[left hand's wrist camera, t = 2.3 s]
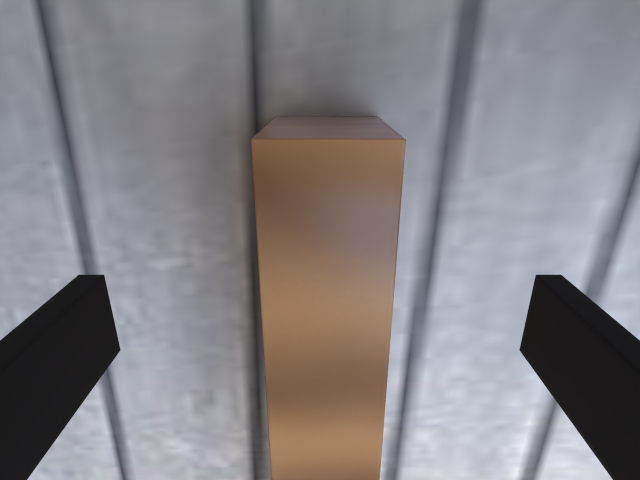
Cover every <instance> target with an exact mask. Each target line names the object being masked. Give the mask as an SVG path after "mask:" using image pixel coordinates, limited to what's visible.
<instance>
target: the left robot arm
mask: <svg viewBox="0 0 640 480" xmlns="http://www.w3.org/2000/svg"><path fill="white" fill-rule="evenodd" d="M119 351H120V346H119V341H118V337H117V332H116V328H115V323H114V318H113V314H112V309H111V305H110V300H109V295H108V291H107V286H106V281H105V277H104V275H78V276H77V277H76V278H75V279H73V280H72V281H71V282H70V283H69V284H67V285H66V286H65V287H64V288H63V289H61V290H60V291H59V292H58V293H57V294H55V295H54V296H53V297H52V298H51V299H49V300H48V301H47V302H46V303H45V304H43V305H42V306H41V307H40V308H39V309H37V310H36V311H35V312H34V313H33V314H32V315H30V316H29V317H28V318H27V319H26V320H24V321H23V322H22V323H21V324H20V325H18V326H17V327H16V328H15V329H14V330H12V331H11V332H10V333H9V334H8V335H6V336H5V337H4V338H3V339H2V340H0V480H27V479H28V478H29V476H30V475H31V473H32V472H33V471H34V469H35V468H36V466H37V465H38V464H39V462H40V461H41V459H42V458H43V457H44V455H45V454H46V453H47V451H48V450H49V448H50V447H51V446H52V444H53V443H54V441H55V440H56V439H57V437H58V436H59V434H60V433H61V432H62V430H63V429H64V428H65V426H66V425H67V423H68V422H69V421H70V419H71V418H72V416H73V415H74V414H75V412H76V411H77V410H78V408H79V407H80V405H81V404H82V403H83V401H84V400H85V398H86V397H87V396H88V394H89V393H90V391H91V390H92V389H93V387H94V386H95V385H96V383H97V382H98V380H99V379H100V378H101V376H102V375H103V373H104V372H105V371H106V369H107V368H108V367H109V365H110V364H111V362H112V361H113V360H114V358H115V357H116V355H117V354H118V353H119ZM520 351H521V353H522V354H523V355H524V357H525V358H526V360H527V361H528V362H529V364H530V365H531V367H532V368H533V369H534V371H535V372H536V373H537V375H538V376H539V378H540V379H541V380H542V382H543V383H544V385H545V386H546V387H547V389H548V390H549V391H550V393H551V394H552V396H553V397H554V398H555V400H556V401H557V403H558V404H559V405H560V407H561V408H562V410H563V411H564V412H565V414H566V415H567V416H568V418H569V419H570V421H571V422H572V423H573V425H574V426H575V428H576V429H577V430H578V432H579V433H580V435H581V436H582V437H583V439H584V440H585V441H586V443H587V444H588V446H589V447H590V448H591V450H592V451H593V453H594V454H595V455H596V457H597V458H598V459H599V461H600V462H601V464H602V465H603V466H604V468H605V469H606V471H607V472H608V473H609V475H610V476H611V478H612V479H613V480H640V340H638V339H637V338H636V337H635V336H634V335H632V334H631V333H630V332H629V331H628V330H626V329H625V328H624V327H623V326H622V325H620V324H619V323H618V322H617V321H616V320H614V319H613V318H612V317H611V316H610V315H608V314H607V313H606V312H605V311H604V310H603V309H601V308H600V307H599V306H598V305H597V304H595V303H594V302H593V301H592V300H591V299H589V298H588V297H587V296H586V295H585V294H583V293H582V292H581V291H580V290H579V289H577V288H576V287H575V286H574V285H573V284H571V283H570V282H569V281H568V280H567V279H565V278H564V277H563V276H562V275H536V277H535V281H534V286H533V291H532V295H531V300H530V304H529V309H528V314H527V318H526V323H525V328H524V332H523V337H522V341H521V346H520Z"/></svg>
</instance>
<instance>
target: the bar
mask: <svg viewBox="0 0 640 480" xmlns="http://www.w3.org/2000/svg"><path fill="white" fill-rule="evenodd" d="M405 142H406V140H405V139H404V138H403V137H402V136H401V135H399V134H398V133H397V132H396V131H395V130H393V129H392V128H391V127H390V126H389V125H387V124H386V123H385V122H384V121H383V120H381V119H380V118H379V117H275V118H273V119H272V120H271V121H270V122H269V123H268V124H267V125H266V126H265V127H264V128H263V129H262V130H261V131H259V132H258V133H257V134H256V135H255V136H254V137H253V138H252V139H251V150H252V166H253V183H254V199H255V215H256V232H257V248H258V264H259V281H260V297H261V313H262V330H263V346H264V362H265V378H266V395H267V411H268V427H269V444H270V460H271V476H272V480H380V467H381V454H382V441H383V428H384V415H385V402H386V389H387V376H388V363H389V350H390V337H391V324H392V311H393V298H394V285H395V272H396V259H397V246H398V233H399V220H400V207H401V194H402V181H403V168H404V155H405Z"/></svg>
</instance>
